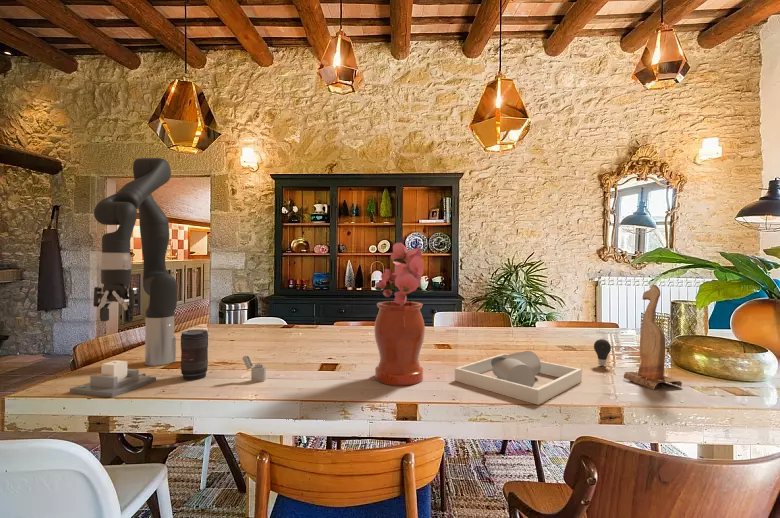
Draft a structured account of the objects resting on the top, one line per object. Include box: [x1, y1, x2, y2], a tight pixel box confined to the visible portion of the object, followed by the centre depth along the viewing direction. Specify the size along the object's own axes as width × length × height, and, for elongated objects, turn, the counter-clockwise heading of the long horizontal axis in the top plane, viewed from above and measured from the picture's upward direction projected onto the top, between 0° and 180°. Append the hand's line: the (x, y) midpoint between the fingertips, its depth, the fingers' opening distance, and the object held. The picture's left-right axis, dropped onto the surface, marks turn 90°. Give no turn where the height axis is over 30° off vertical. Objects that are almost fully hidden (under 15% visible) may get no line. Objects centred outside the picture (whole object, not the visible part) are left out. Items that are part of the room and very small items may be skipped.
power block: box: [69, 368, 157, 398], centre depth 118 cm, size 18×15×4 cm
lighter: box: [242, 354, 267, 383], centre depth 124 cm, size 7×2×8 cm, turn 86°
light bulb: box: [593, 338, 612, 367], centre depth 144 cm, size 6×6×10 cm
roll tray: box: [454, 353, 583, 406], centre depth 125 cm, size 30×28×4 cm
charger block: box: [100, 360, 128, 381], centre depth 117 cm, size 4×4×6 cm
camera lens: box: [180, 329, 209, 381], centre depth 126 cm, size 8×8×15 cm
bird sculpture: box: [623, 284, 683, 390], centre depth 124 cm, size 11×12×32 cm
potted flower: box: [373, 242, 434, 387], centre depth 128 cm, size 19×25×45 cm
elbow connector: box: [491, 350, 541, 388], centre depth 125 cm, size 18×11×20 cm
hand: (116, 321), depth 117 cm, fingers open, 8 cm apart
